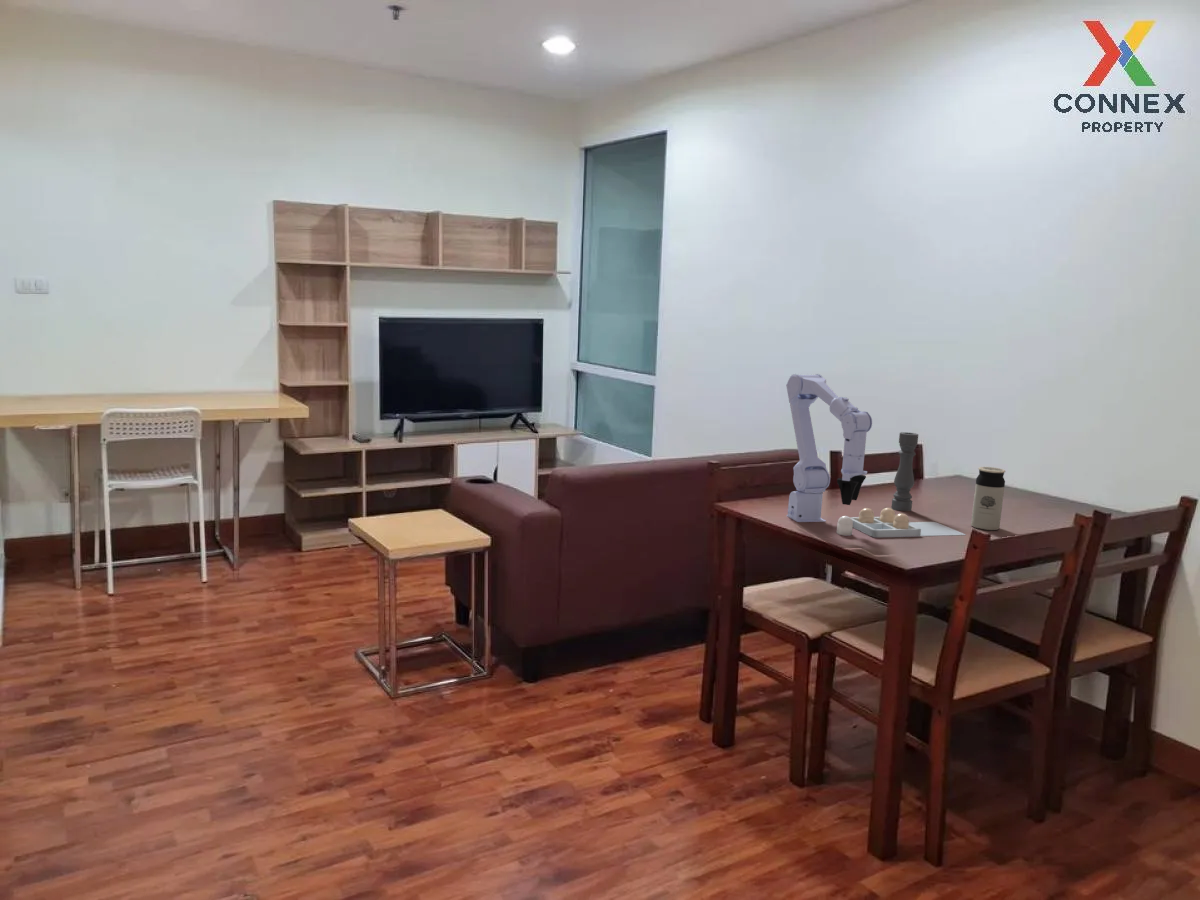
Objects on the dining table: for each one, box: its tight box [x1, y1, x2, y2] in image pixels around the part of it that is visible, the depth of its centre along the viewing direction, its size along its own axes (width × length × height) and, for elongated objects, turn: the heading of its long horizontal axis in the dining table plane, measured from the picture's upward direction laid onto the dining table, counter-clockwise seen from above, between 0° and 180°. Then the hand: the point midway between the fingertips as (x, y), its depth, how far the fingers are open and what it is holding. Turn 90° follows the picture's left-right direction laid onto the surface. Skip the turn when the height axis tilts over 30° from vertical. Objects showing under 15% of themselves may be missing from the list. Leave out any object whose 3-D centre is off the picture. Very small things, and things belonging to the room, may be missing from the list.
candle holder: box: [890, 431, 919, 512], centre depth 289 cm, size 6×6×25 cm
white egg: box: [836, 515, 854, 537], centre depth 255 cm, size 4×4×6 cm
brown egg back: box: [893, 512, 910, 529], centre depth 259 cm, size 4×4×6 cm
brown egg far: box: [879, 507, 896, 523], centre depth 266 cm, size 4×4×6 cm
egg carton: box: [849, 516, 967, 538], centre depth 264 cm, size 30×15×2 cm, turn 104°
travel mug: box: [970, 466, 1006, 531], centre depth 271 cm, size 8×8×18 cm
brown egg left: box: [858, 507, 875, 523], centre depth 264 cm, size 4×4×6 cm
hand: (849, 502), depth 255 cm, fingers open, 7 cm apart
